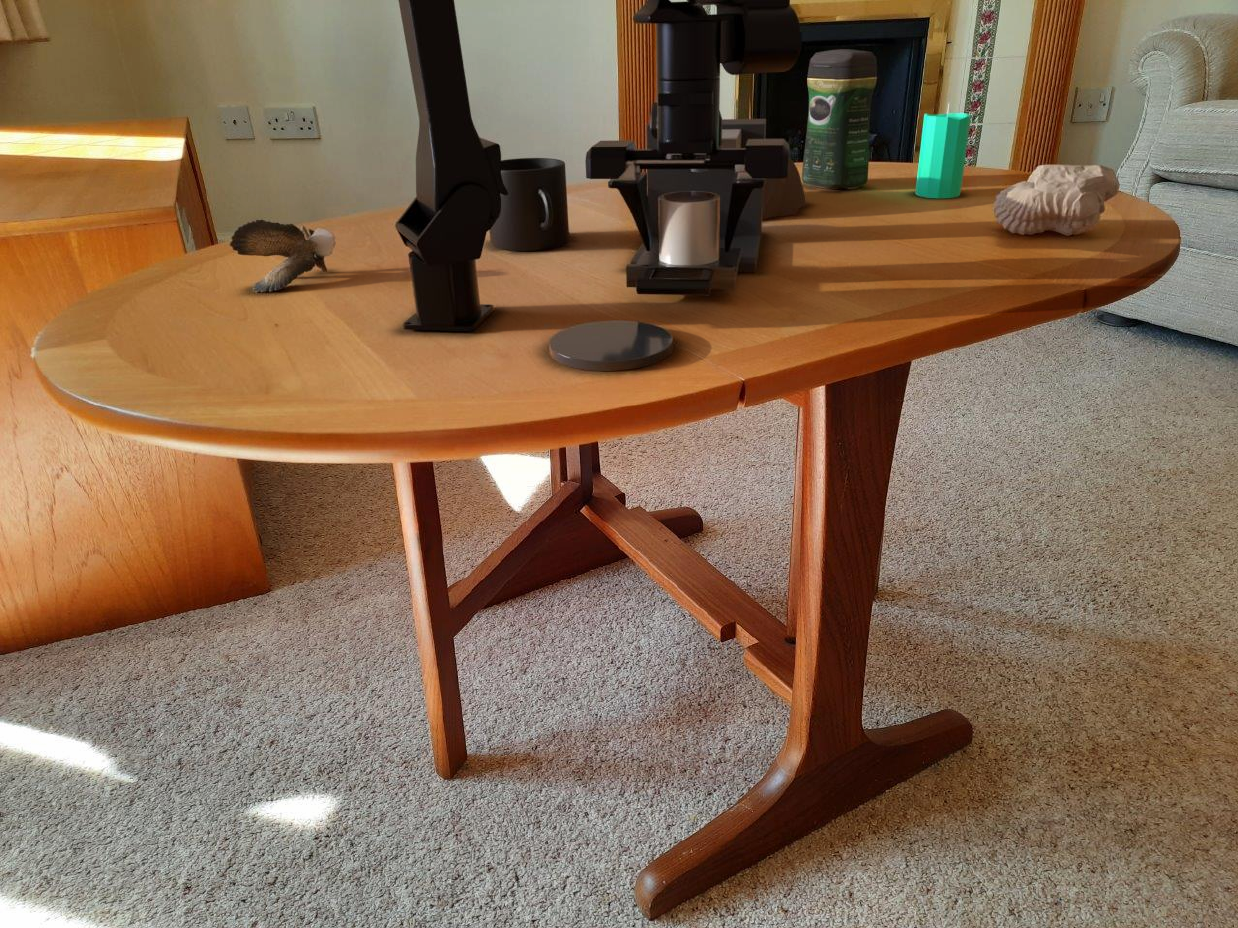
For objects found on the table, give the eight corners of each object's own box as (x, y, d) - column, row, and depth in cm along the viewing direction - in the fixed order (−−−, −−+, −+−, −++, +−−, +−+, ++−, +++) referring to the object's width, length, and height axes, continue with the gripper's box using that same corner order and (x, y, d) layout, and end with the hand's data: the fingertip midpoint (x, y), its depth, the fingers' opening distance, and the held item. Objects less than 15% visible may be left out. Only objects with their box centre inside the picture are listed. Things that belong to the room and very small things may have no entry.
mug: (514, 261, 99) (506, 176, 95) (480, 240, 108) (472, 162, 104) (591, 249, 102) (587, 168, 98) (551, 230, 112) (546, 155, 108)
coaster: (664, 373, 67) (664, 363, 66) (535, 369, 69) (535, 359, 68) (679, 330, 76) (679, 321, 75) (565, 327, 77) (565, 318, 77)
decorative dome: (820, 196, 126) (825, 121, 121) (782, 226, 110) (786, 141, 105) (692, 190, 133) (692, 119, 129) (639, 217, 117) (637, 137, 113)
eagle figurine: (291, 255, 99) (219, 259, 92) (313, 203, 96) (239, 202, 88) (332, 300, 98) (261, 307, 90) (355, 248, 94) (283, 251, 86)
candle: (915, 197, 123) (925, 105, 117) (915, 190, 128) (925, 100, 123) (960, 198, 121) (974, 104, 116) (959, 191, 126) (972, 100, 121)
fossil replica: (976, 229, 106) (1024, 255, 98) (985, 158, 101) (1036, 179, 93) (1068, 214, 107) (1124, 239, 99) (1081, 143, 103) (1140, 163, 95)
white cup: (716, 266, 86) (717, 202, 83) (655, 265, 87) (654, 202, 84) (721, 251, 91) (722, 190, 88) (663, 250, 92) (662, 190, 89)
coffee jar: (876, 187, 131) (889, 48, 123) (835, 193, 128) (846, 51, 119) (832, 178, 139) (841, 47, 130) (792, 184, 135) (799, 50, 127)
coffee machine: (755, 272, 91) (760, 139, 85) (630, 270, 93) (627, 140, 88) (761, 234, 106) (766, 118, 101) (654, 233, 109) (652, 120, 103)
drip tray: (729, 306, 77) (730, 282, 76) (616, 303, 78) (615, 280, 78) (741, 255, 92) (742, 234, 91) (646, 254, 94) (646, 234, 93)
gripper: (793, 70, 86) (785, 233, 93) (604, 74, 89) (610, 231, 96) (792, 78, 76) (783, 260, 83) (580, 83, 79) (588, 257, 86)
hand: (687, 250), depth 87 cm, fingers open, 7 cm apart
